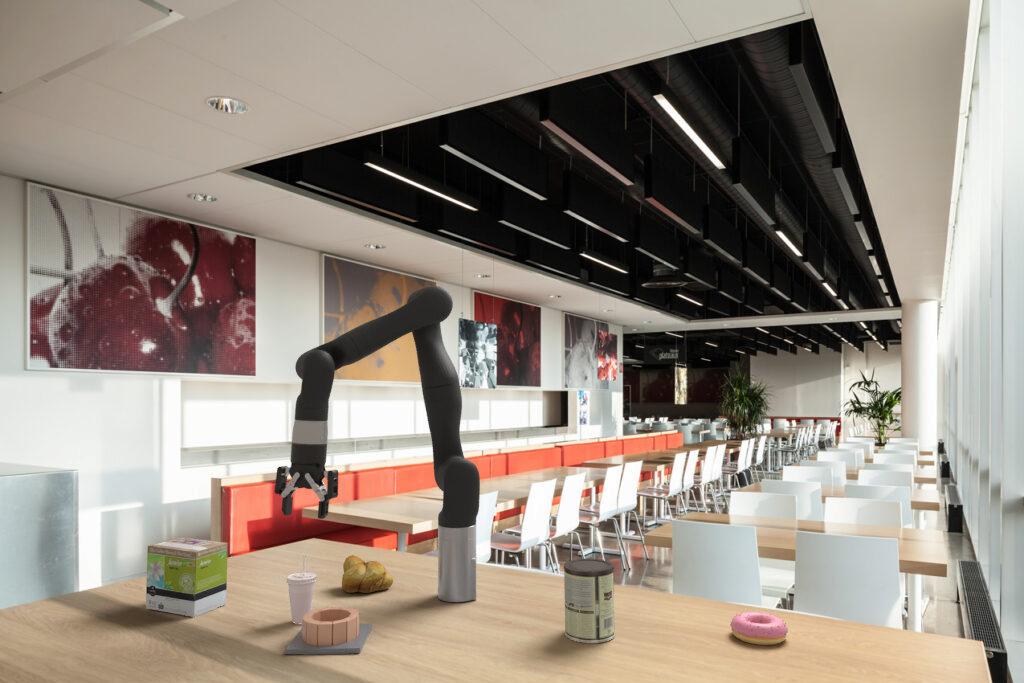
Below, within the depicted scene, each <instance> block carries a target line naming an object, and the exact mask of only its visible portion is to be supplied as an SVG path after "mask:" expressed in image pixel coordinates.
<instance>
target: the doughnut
mask: <svg viewBox="0 0 1024 683" xmlns="http://www.w3.org/2000/svg"><path fill="white" fill-rule="evenodd" d="M729 626H730V628H731V633H732V634H733V636H735V637H736V638H737V639H738V640H740V641H742V642H744V643H745V642H746V643H748V644H751V645H759V646H773V645H774V646H775V645H778V644H781V643H782V642H784V641H785V640H786V638H787V634H788V632H789V628H788V627H787V625H786V623H785V622H784V620H782V619H781V618H780V617H778V616H776V615H772V614H771V613H769V614H768V613H766V612H760V611H746V612H740V613H738V614H736V615H734V616H733V617H732V618H731V621H730V624H729Z"/></svg>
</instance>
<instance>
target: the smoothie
mask: <svg viewBox="0 0 1024 683" xmlns="http://www.w3.org/2000/svg"><path fill="white" fill-rule="evenodd" d="M306 558H307V555H302V572H297V573H292V574H289V575H287V576H286V580H285V582H286V583H287V588H288V595H289V596H288V597H289V605H290V606H289V607H290V614H291V623H292V622H295V623H302V618H303V617H304V615H305V614H307V613H308V612H311V611H313V610H312V608H313V603H314V602H313V600H314V595H315V586H316V581H317V580H318V578H317V577H318V575H317V574H316V573H314V572H307V570H306V567H307V566H306V565H307V564H306V561H307V560H306Z"/></svg>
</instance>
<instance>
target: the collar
mask: <svg viewBox="0 0 1024 683" xmlns="http://www.w3.org/2000/svg"><path fill="white" fill-rule="evenodd" d="M301 625H302V627H301V628H300V630H299V631H298V632H297V634H296V635H295V636H294V638H292V640H291V641H290V643H289V644H288V646H287V647H286V648H285V654H304V655H305V656H306V655H348V654H349V655H352V654H353V653H360V654H361V652H362V651H363V648H364V646H365V644H366V642H365V641H367V640H368V638H367V637H369V635H370V633H371V631H372V629H373V622H372V623H371V622H370V623H360V612H359V611H358V610H357V609H356V608H354V607H353V608H352V607H349V606H348V607H346V606H329V607H322V608H317V609H314V610H311V612H308V613H307V614H305V615H304V617H303V618H302V624H301ZM371 628H372V629H371ZM366 639H367V640H366ZM364 643H365V644H364ZM363 645H364V646H363ZM350 653H351V654H350ZM304 655H303V656H304ZM353 655H354V654H353Z"/></svg>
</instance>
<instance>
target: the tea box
mask: <svg viewBox="0 0 1024 683" xmlns="http://www.w3.org/2000/svg"><path fill="white" fill-rule="evenodd" d="M228 544H229V543H228V542H224V541H223V542H222V541H217V540H208V539H200V538H199V539H197V538H191V537H184V536H183V537H181V536H180V537H176V538H173V539H170V540H167V541H162V542H159V543H155V544H150V545H147V555H146V560H147V562H146V564H147V565H146V587H145V588H146V593H145V595H146V596H145V609H146V610H153V611H158V612H159V611H160V612H164V613H169V614H175V615H179V614H180V615H179V616H184V615H185V616H184V617H188V616H191V617H190V618H193V617H194V618H196V617H195V616H197V615H199V616H201V615H200V614H202V613H204V614H206V613H205V612H207V611H209V610H212V609H214V608H217V607H219V608H221V607H220V606H222V605H224V606H226V605H227V587H228V586H227V585H228V584H227V582H228ZM225 604H226V605H225ZM222 607H223V606H222ZM217 609H218V608H217ZM212 611H213V610H212ZM209 612H210V611H209ZM207 613H208V612H207ZM202 615H203V614H202ZM197 617H198V616H197Z"/></svg>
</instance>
